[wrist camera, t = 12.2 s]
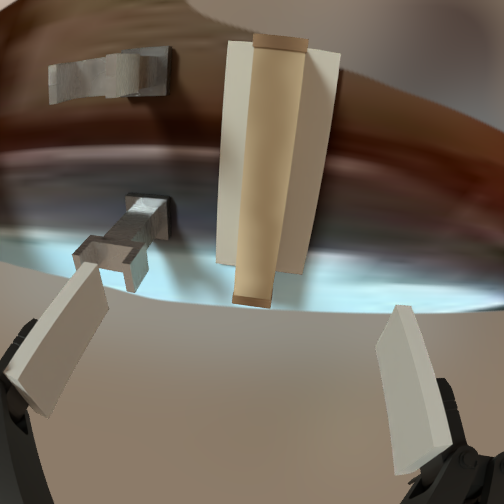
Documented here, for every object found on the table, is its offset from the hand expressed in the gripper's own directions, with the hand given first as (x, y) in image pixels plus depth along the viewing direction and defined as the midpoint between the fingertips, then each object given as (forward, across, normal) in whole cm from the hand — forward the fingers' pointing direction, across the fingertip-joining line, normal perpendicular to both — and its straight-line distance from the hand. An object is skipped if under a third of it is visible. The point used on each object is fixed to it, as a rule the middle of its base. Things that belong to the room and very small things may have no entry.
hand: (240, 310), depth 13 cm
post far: (+20, -13, -7) cm, 25 cm away
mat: (+20, 0, 0) cm, 20 cm away
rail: (+20, 0, 0) cm, 20 cm away
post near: (+20, -13, +9) cm, 26 cm away
